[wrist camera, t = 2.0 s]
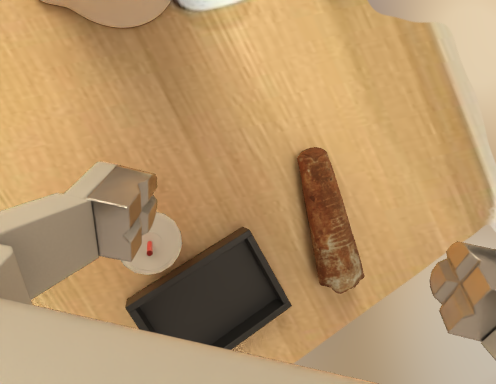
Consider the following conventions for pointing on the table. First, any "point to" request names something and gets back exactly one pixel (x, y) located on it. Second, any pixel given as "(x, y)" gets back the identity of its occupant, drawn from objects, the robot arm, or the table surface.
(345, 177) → the table surface
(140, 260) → the beverage cup
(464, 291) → the robot arm
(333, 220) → the bread
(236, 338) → the tray
